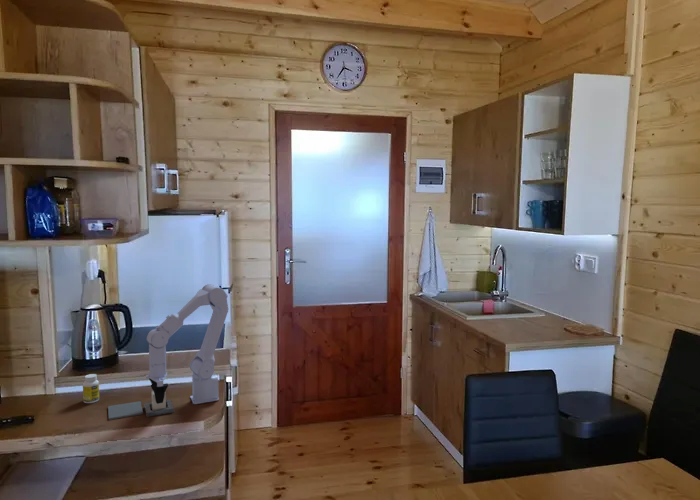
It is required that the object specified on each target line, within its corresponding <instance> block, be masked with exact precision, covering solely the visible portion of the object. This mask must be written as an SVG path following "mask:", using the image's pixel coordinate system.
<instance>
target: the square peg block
mask: <svg viewBox="0 0 700 500" xmlns="http://www.w3.org/2000/svg"><path fill="white" fill-rule="evenodd" d="M150 392H151V402H152V408H151V409H152V410H157V409H163V408H167V405H166V400H167V395H166V394H167V393H166V391H165V395H164V400H163V403H159V404H157V403H156V399H155V394H154V391H153V390H152V389H151V391H150Z"/></svg>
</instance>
